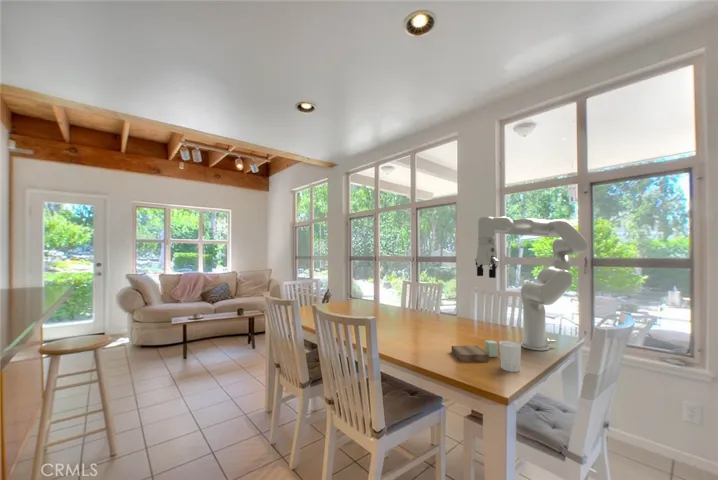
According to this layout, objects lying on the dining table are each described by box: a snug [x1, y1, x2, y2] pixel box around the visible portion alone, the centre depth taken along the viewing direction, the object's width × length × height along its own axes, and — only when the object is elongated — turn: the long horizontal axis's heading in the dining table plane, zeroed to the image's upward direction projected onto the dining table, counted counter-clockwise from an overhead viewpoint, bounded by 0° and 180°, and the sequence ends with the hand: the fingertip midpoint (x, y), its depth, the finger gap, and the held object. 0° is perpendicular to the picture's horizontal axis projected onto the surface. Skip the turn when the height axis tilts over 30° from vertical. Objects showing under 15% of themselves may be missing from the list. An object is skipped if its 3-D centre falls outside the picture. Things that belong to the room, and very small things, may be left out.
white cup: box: [498, 340, 522, 373], centre depth 122 cm, size 8×8×10 cm
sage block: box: [484, 340, 499, 358], centre depth 138 cm, size 4×4×6 cm
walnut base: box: [451, 345, 490, 363], centre depth 136 cm, size 12×12×3 cm
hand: (486, 276), depth 149 cm, fingers open, 9 cm apart
